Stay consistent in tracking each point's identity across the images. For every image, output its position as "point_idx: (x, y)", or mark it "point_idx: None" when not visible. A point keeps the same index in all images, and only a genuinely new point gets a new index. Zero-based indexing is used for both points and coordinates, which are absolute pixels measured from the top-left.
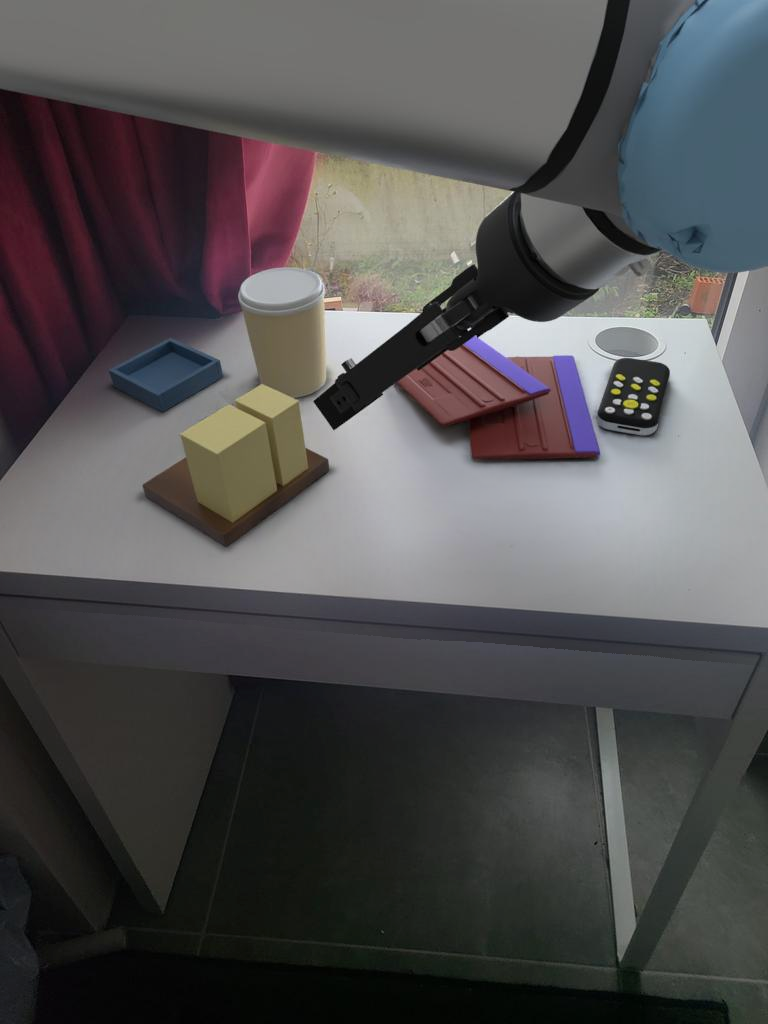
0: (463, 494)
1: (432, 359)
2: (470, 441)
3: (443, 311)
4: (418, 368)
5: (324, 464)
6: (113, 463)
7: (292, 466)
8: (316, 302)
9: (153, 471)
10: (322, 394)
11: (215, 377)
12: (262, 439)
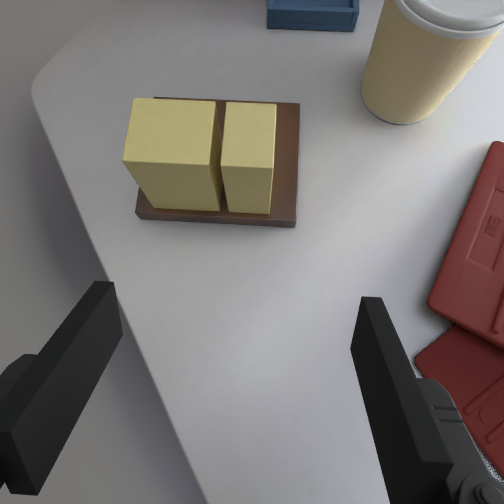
0: (353, 384)
1: (361, 389)
2: (437, 339)
3: (415, 453)
4: (351, 349)
5: (288, 222)
6: (179, 49)
7: (246, 206)
8: (472, 36)
9: (190, 86)
10: (75, 306)
11: (343, 27)
12: (200, 175)
